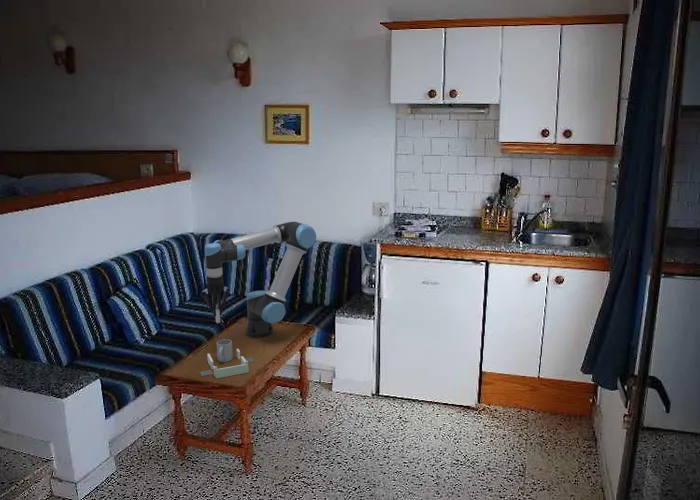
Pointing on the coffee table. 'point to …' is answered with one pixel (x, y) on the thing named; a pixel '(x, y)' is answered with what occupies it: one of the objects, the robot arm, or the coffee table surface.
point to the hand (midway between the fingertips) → (217, 321)
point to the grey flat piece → (228, 370)
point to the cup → (224, 350)
